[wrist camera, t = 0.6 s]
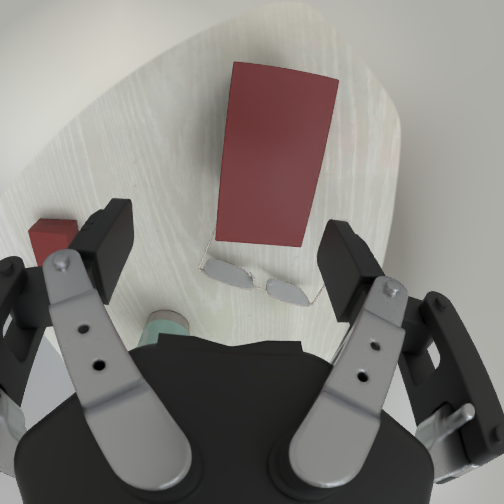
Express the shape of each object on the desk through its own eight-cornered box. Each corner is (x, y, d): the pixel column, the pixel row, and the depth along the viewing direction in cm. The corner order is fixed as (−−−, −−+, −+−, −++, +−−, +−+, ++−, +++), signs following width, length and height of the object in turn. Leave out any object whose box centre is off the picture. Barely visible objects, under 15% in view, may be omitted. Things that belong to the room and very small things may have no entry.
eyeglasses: (199, 254, 32) (196, 275, 28) (227, 189, 28) (228, 204, 25) (306, 289, 36) (315, 311, 32) (341, 237, 32) (354, 255, 29)
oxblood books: (38, 216, 27) (25, 230, 24) (78, 217, 28) (65, 233, 25) (60, 290, 34) (52, 306, 31) (96, 295, 34) (89, 312, 32)
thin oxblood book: (233, 62, 15) (233, 61, 13) (331, 78, 15) (339, 80, 14) (216, 229, 22) (215, 241, 20) (297, 235, 22) (301, 247, 21)
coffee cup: (144, 294, 35) (122, 375, 25) (207, 314, 37) (202, 395, 27) (134, 332, 39) (118, 404, 29) (189, 348, 41) (183, 420, 32)
